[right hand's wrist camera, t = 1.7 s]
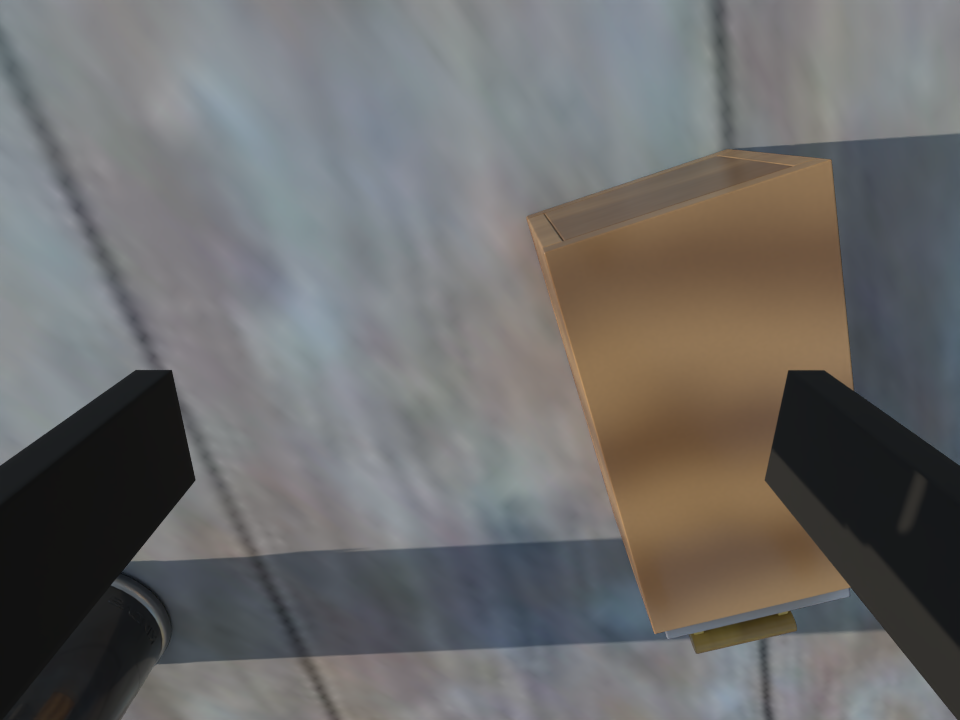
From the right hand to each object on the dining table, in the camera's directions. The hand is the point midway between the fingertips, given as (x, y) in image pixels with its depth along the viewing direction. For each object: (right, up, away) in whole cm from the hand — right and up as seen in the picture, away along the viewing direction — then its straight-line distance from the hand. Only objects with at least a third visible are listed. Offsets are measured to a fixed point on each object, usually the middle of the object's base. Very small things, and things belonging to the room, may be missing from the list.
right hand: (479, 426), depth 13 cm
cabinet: (+10, +2, +20) cm, 23 cm away
